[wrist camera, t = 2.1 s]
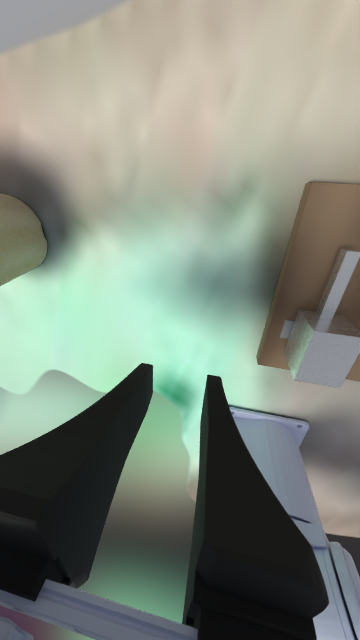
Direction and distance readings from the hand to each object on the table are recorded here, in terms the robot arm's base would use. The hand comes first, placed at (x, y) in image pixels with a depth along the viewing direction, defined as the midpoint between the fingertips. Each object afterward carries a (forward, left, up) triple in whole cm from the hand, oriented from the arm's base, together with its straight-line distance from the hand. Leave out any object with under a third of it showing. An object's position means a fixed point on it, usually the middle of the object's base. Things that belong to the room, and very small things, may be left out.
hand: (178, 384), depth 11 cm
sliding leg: (+9, +2, -8) cm, 12 cm away
